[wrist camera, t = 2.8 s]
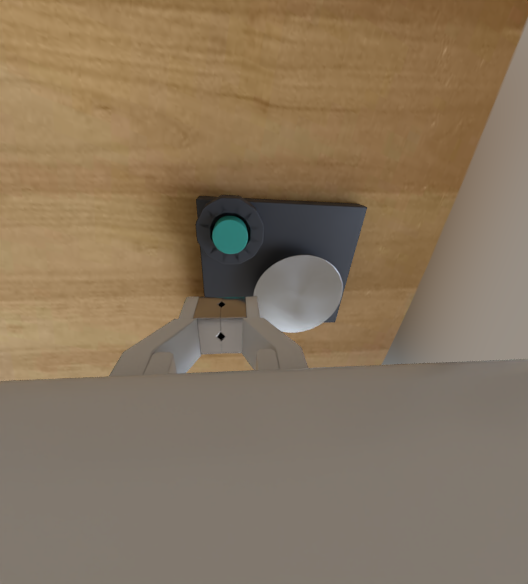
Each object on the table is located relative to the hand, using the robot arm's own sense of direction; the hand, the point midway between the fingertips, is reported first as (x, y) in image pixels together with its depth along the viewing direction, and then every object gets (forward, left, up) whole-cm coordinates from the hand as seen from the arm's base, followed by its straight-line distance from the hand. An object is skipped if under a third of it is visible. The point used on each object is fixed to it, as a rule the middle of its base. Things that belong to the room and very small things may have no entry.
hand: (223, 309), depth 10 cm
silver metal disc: (-7, +6, -12) cm, 15 cm away
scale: (-5, +4, -15) cm, 17 cm away
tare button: (0, 0, -12) cm, 12 cm away
